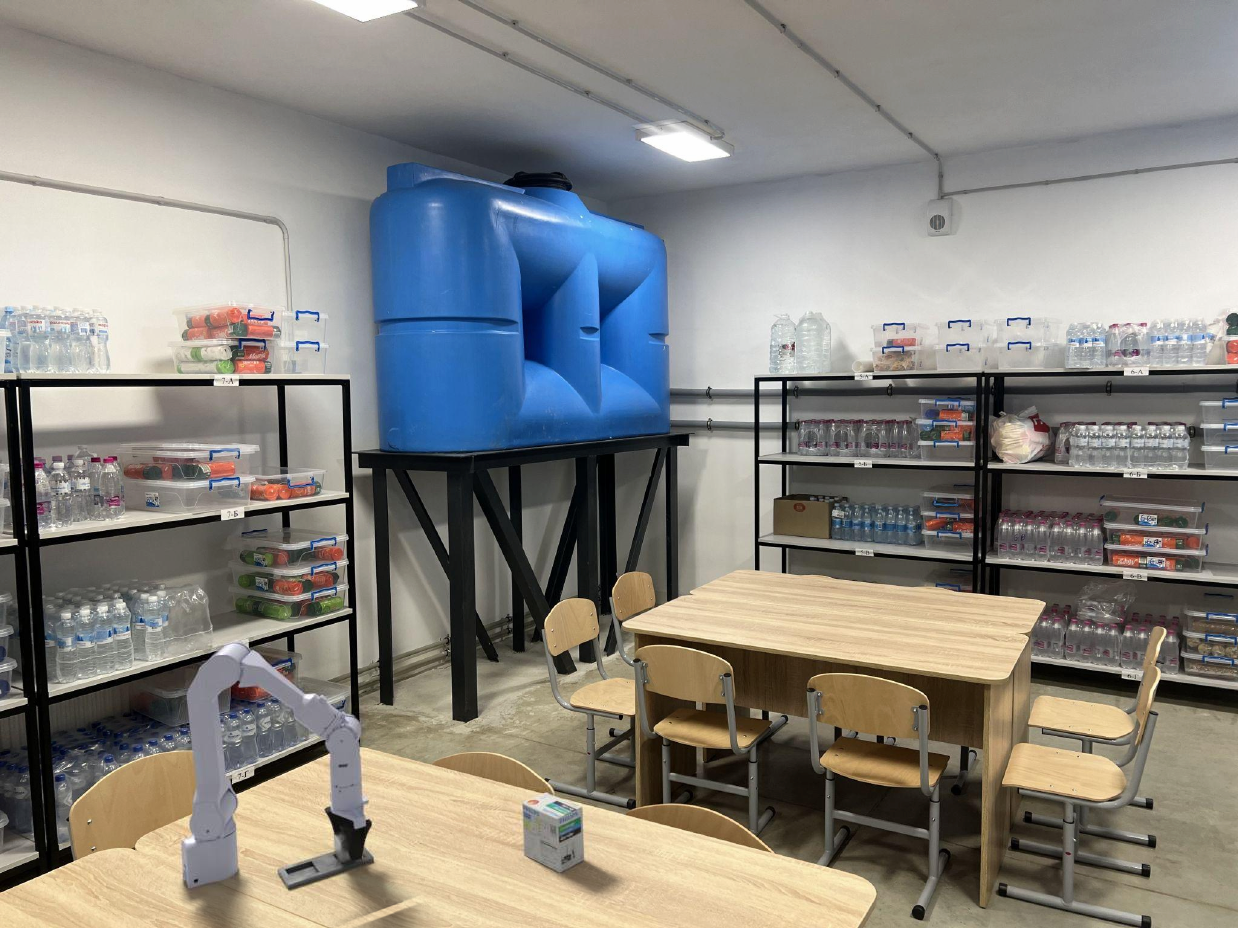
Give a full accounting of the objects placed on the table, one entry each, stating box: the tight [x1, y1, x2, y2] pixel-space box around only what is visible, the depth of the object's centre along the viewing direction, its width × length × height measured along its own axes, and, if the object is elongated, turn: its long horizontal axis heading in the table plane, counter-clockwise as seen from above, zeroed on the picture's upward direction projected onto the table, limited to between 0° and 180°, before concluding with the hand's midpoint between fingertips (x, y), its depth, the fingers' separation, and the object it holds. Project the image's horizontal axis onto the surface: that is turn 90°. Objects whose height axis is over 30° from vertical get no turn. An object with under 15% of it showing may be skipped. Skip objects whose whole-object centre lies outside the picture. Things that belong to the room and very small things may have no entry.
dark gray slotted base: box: [277, 846, 375, 890], centre depth 171 cm, size 16×7×2 cm, turn 126°
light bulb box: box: [521, 792, 585, 874], centre depth 174 cm, size 11×7×11 cm, turn 47°
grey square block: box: [333, 831, 362, 865], centre depth 173 cm, size 4×4×5 cm
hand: (349, 849), depth 173 cm, fingers open, 7 cm apart
